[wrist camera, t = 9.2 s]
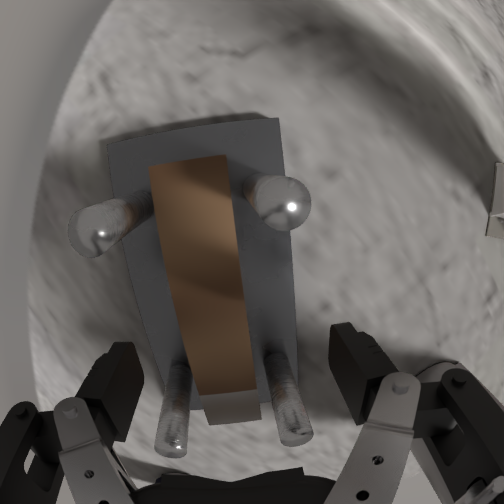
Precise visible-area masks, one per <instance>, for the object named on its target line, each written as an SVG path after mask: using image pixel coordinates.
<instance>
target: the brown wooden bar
mask: <svg viewBox="0 0 504 504" xmlns="http://www.w3.org/2000/svg"><path fill="white" fill-rule="evenodd" d="M148 169H149V177H150V184H151V191H152V197H153V204H154V210H155V216H156V222H157V227H158V233H159V238H160V244H161V249H162V254H163V259H164V264H165V269H166V273H167V278H168V282H169V287H170V291H171V295H172V300H173V304H174V308H175V312H176V316H177V320H178V324H179V328H180V332H181V335H182V339H183V343H184V346H185V350H186V354H187V357H188V361H189V364H190V367H191V371H192V374H193V377H194V381H195V384H196V387H197V390H198V393H199V397H200V400H201V403H202V406H203V409H204V412H205V415H206V418H207V420H208V423H209V425H220V424H230V423H239V422H247V421H255V420H262V418H261V411H260V405H259V398H258V391H257V384H256V378H255V371H254V364H253V357H252V350H251V343H250V336H249V329H248V321H247V314H246V307H245V299H244V292H243V285H242V277H241V270H240V262H239V254H238V247H237V239H236V231H235V223H234V215H233V207H232V199H231V191H230V183H229V175H228V166H227V158H226V154H224V155H216V156H209V157H202V158H195V159H189V160H183V161H177V162H171V163H165V164H160V165H154V166H149V167H148Z"/></svg>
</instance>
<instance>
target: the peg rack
mask: <svg viewBox="0 0 504 504" xmlns="http://www.w3.org/2000/svg"><path fill="white" fill-rule="evenodd" d="M107 150H108V159H109V167H110V175H111V182H112V189H113V195H114V198H113V199H110V200H107V201H104V202H101V203H98V204H95V205H92V206H89V207H86V208H83V209H80V210H78V211H77V212H76V213H75V214H74V215H73V216H72V218H71V219H70V222H69V226H68V236H69V240H70V243H71V245H72V247H73V248H74V249H75V250H76V251H77V252H78V253H79V254H80V255H82V256H84V257H88V258H95V257H98V256H100V255H102V254H103V253H104V252H105V251H107V250H108V249H109V248H110V247H112V246H113V245H114V244H116V243H117V242H118V241H120V240H121V239H122V243H123V248H124V253H125V257H126V261H127V266H128V270H129V274H130V278H131V282H132V286H133V289H134V293H135V297H136V300H137V304H138V307H139V311H140V314H141V318H142V321H143V324H144V327H145V331H146V334H147V337H148V340H149V343H150V346H151V349H152V352H153V355H154V358H155V361H156V363H157V366H158V369H159V372H160V374H161V377H162V380H163V382H164V385H165V392H164V397H163V402H162V407H161V412H160V418H159V423H158V428H157V434H156V439H155V445H154V449H155V451H156V452H157V453H159V454H160V455H162V456H165V457H168V458H181V457H184V456H185V455H186V453H187V440H188V428H189V416H190V410H201V409H203V406H202V403H201V400H200V397H199V393H198V390H197V387H196V384H195V381H194V377H193V374H192V371H191V367H190V364H189V361H188V357H187V354H186V350H185V346H184V343H183V339H182V335H181V332H180V328H179V324H178V320H177V316H176V312H175V308H174V304H173V300H172V295H171V291H170V287H169V282H168V278H167V273H166V269H165V264H164V259H163V254H162V249H161V244H160V238H159V233H158V227H157V222H156V216H155V210H154V204H153V197H152V191H151V184H150V177H149V169H148V167H149V166H154V165H160V164H165V163H171V162H177V161H183V160H189V159H195V158H202V157H209V156H216V155H224V154H226V158H227V166H228V175H229V183H230V191H231V199H232V207H233V215H234V223H235V231H236V239H237V247H238V254H239V262H240V270H241V277H242V285H243V292H244V299H245V307H246V314H247V321H248V329H249V336H250V343H251V350H252V357H253V364H254V371H255V378H256V384H257V391H258V398H259V403H263V402H270V401H272V405H273V409H274V414H275V418H276V423H277V427H278V432H279V436H280V441H281V443H282V444H283V445H285V446H289V447H295V446H300V445H303V444H305V443H307V442H308V441H310V440H311V439H312V437H313V435H314V433H313V430H312V427H311V424H310V421H309V418H308V415H307V412H306V409H305V407H304V404H303V401H302V398H301V395H300V392H299V389H298V361H297V335H296V314H295V295H294V279H293V264H292V250H291V236H290V230H292V229H295V228H297V227H299V226H300V225H301V224H303V222H304V221H305V220H306V219H307V217H308V215H309V213H310V210H311V197H310V194H309V191H308V190H307V188H306V187H305V186H304V185H303V184H302V183H301V182H300V181H298V180H297V179H294V178H291V177H285V169H284V160H283V150H282V141H281V133H280V124H279V118H265V119H252V120H242V121H232V122H224V123H216V124H208V125H201V126H194V127H188V128H182V129H176V130H171V131H165V132H160V133H155V134H150V135H145V136H141V137H136V138H132V139H127V140H123V141H119V142H115V143H111V144H107Z"/></svg>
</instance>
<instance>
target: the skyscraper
mask: <svg viewBox="0 0 504 504" xmlns="http://www.w3.org/2000/svg"><path fill="white" fill-rule="evenodd" d="M486 236H490V237H495V238H500V239H504V163H496V162H495V171H494V182H493V192H492V200H491V207H490V214H489V220H488V226H487V231H486Z"/></svg>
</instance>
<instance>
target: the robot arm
mask: <svg viewBox="0 0 504 504" xmlns="http://www.w3.org/2000/svg"><path fill="white" fill-rule="evenodd" d="M328 359H329V366H330V369H331V372H332V374H333V376H334V378H335V380H336V382H337V384H338V386H339V389H340V391H341V393H342V395H343V397H344V399H345V401H346V404H347V406H348V408H349V410H350V412H351V414H352V417H353V419H354V421H355V423H356V425H357V426H358V425H361V424H364V425H363V427H362V430H361V432H360V434H359V436H358V439H357V441H356V443H355V445H354V447H353V449H352V452H351V454H350V456H349V458H348V460H347V462H346V464H345V466H344V468H343V470H342V472H341V473H340V475H339V477H338V479H337V481H334V480H331V479H328V478H324V477H319V476H309V475H304V471H303V467H299V468H293V469H287V470H280V471H272V472H266V473H263V474H259V475H256V476H253V477H249V478H246V479H242V480H238V481H234V482H226V481H220V480H214V479H209V478H204V477H199V476H194V475H169V474H162V478H161V483H156V484H152V485H148V486H145V487H142V488H140V489H138V488H137V487H136V486H135V484H134V483H133V481H132V479H131V478H130V476H129V475H128V473H127V471H126V469H125V468H124V466H123V464H122V462H121V461H120V459H119V457H118V455H117V453H116V452H115V450H114V448H113V447H112V446H113V443H114V441H119V442H125V441H126V437H127V434H128V431H129V428H130V425H131V421H132V418H133V415H134V412H135V409H136V406H137V403H138V400H139V397H140V394H141V391H142V388H143V385H144V373H143V370H142V367H141V364H140V361H139V358H138V355H137V352H136V349H135V346H134V344H133V343H132V342H114V343H113V345H112V347H111V348H110V350H109V352H108V353H104V354H103V355H102V356H101V357H100V358H98V359H97V360H96V361H95V363H94V365H93V366H92V370H90V371H89V373H88V376H87V377H86V378H85V380H84V382H83V383H82V385H81V387H80V389H79V390H78V392H77V394H76V396H75V397H69V398H66V399H63V400H62V401H60V402H59V403H58V404H57V405H56V406H55V408H54V411H44V412H39V411H38V410H37V408H36V407H35V405H34V404H33V403H31V402H28V401H24V402H20V403H18V404H16V405H14V406H13V407H12V408H11V410H10V411H9V412H8V414H7V416H6V417H5V419H4V421H3V422H2V424H1V426H0V504H56V501H57V497H58V494H59V490H60V487H61V484H62V481H63V477H64V474H65V477H66V480H67V482H68V485H69V488H70V490H71V493H72V495H73V498H74V501H75V503H76V504H392V502H393V499H394V497H395V494H396V491H397V489H398V486H399V483H400V480H401V477H402V474H403V471H404V468H405V465H406V461H407V458H408V454H409V451H410V450H411V452H412V453H413V455H414V457H415V458H416V460H417V462H418V463H419V465H420V467H421V468H422V470H423V472H424V473H425V475H426V477H427V478H428V480H429V482H430V484H431V485H432V487H433V489H434V491H435V492H436V494H437V496H438V498H439V499H440V501H441V503H442V504H504V406H503V405H502V404H501V403H500V402H499V401H498V400H497V399H496V398H495V397H494V395H493V394H492V393H491V392H490V391H489V390H488V389H487V388H486V387H485V386H484V385H483V384H482V383H481V382H480V381H479V380H478V379H477V378H476V377H475V376H474V375H473V374H472V373H471V372H470V371H469V370H467V369H466V368H465V367H464V366H463V365H462V364H461V363H458V364H455V365H454V364H452V363H450V362H443V363H439V364H436V365H434V366H432V367H430V368H428V369H426V370H425V371H423V372H422V373H421V374H419V375H418V376H417V377H415V376H413V375H411V374H409V373H405V372H399V371H398V370H397V368H396V367H395V366H394V364H393V363H392V362H391V360H390V359H389V358H388V356H387V355H386V354H385V353H384V352H383V350H382V349H381V347H380V346H378V343H377V342H376V341H375V340H374V338H373V337H372V336H370V335H368V334H366V333H365V332H357V331H356V330H355V328H354V327H353V325H352V324H351V323H350V322H346V323H340V324H334V325H331V327H330V339H329V354H328ZM30 449H31V450H32V451H33V452H34V453H35V456H34V458H33V461H32V463H31V465H30V468H29V471H28V473H27V474H26V472H25V470H24V462H25V459H26V457H27V455H28V452H29V450H30Z"/></svg>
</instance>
